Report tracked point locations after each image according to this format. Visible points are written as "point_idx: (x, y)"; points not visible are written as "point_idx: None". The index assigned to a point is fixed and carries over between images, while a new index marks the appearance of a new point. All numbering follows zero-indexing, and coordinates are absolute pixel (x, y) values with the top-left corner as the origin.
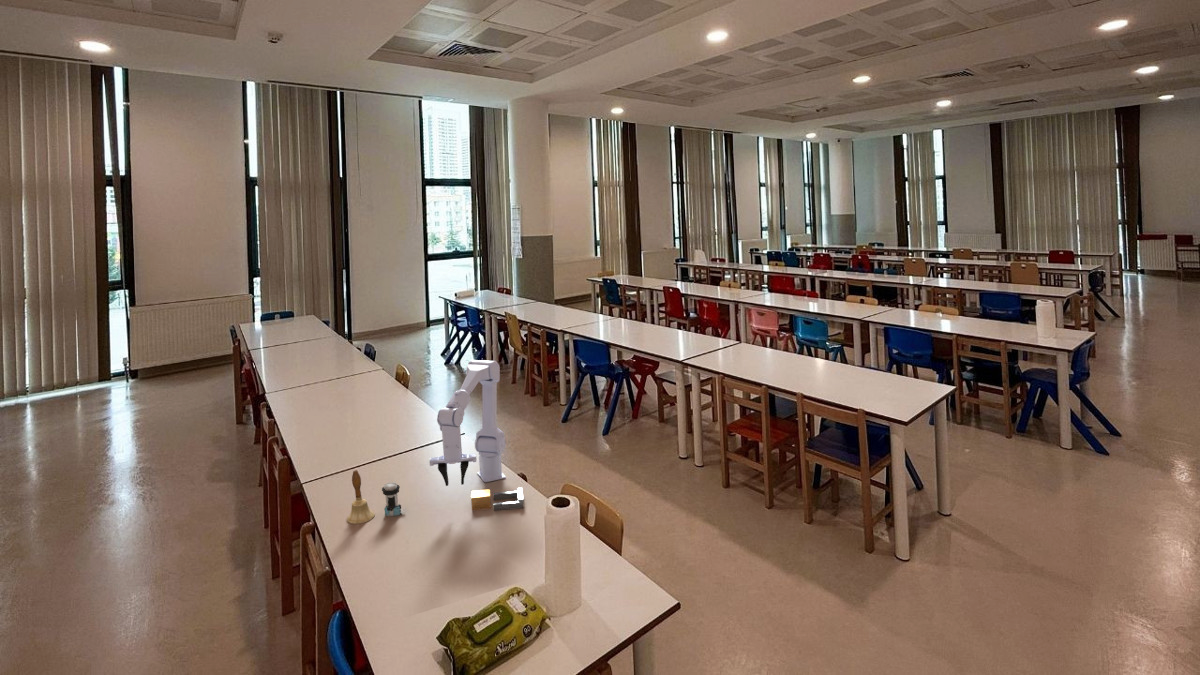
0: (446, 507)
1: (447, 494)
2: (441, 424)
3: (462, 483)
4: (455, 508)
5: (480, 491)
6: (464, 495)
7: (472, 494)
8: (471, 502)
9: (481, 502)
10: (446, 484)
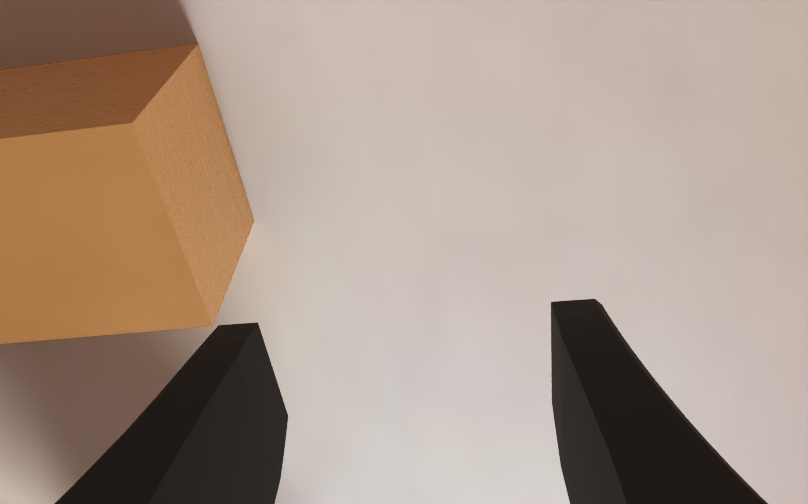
0: (556, 153)
1: None
2: None
3: (223, 337)
4: (435, 116)
5: (74, 304)
6: (389, 382)
7: (156, 229)
8: (160, 89)
9: (25, 99)
10: (589, 317)
